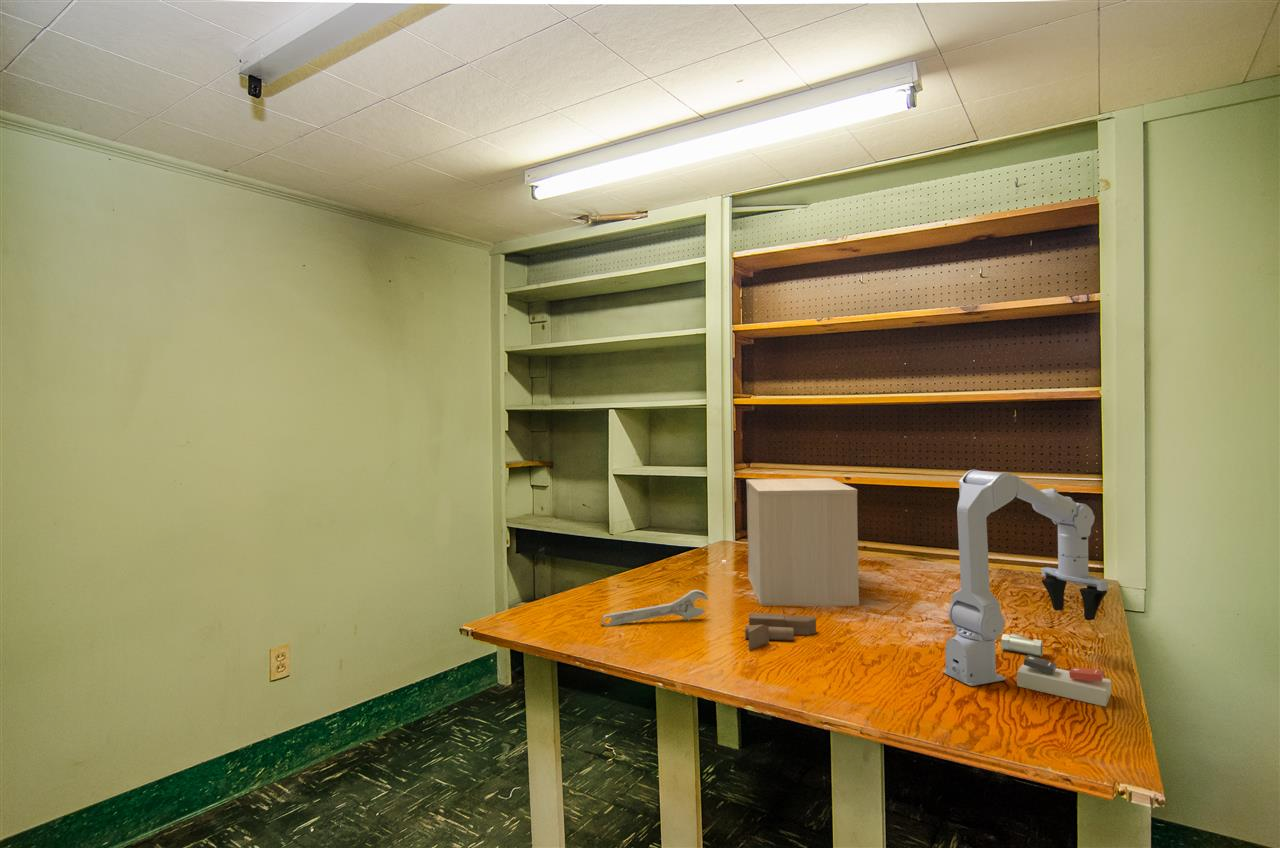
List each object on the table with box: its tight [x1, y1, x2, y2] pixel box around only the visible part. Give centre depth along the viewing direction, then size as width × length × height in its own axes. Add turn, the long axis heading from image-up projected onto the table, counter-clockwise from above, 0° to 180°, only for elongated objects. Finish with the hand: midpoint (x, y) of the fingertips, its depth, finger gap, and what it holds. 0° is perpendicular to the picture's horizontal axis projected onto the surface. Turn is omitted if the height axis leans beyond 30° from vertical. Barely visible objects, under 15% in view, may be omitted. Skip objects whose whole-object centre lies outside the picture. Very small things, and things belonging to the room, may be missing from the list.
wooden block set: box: [744, 612, 817, 651], centre depth 164 cm, size 17×6×18 cm
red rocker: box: [1069, 666, 1105, 681], centre depth 129 cm, size 5×3×1 cm, turn 48°
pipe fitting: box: [1000, 632, 1044, 658], centre depth 154 cm, size 8×4×7 cm
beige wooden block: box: [745, 477, 860, 607], centre depth 210 cm, size 35×29×34 cm
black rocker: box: [1023, 654, 1058, 675], centre depth 134 cm, size 5×3×1 cm, turn 48°
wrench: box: [601, 589, 709, 627], centre depth 181 cm, size 8×2×30 cm
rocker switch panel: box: [1016, 662, 1112, 707], centre depth 132 cm, size 15×7×3 cm, turn 48°
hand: (1073, 614), depth 148 cm, fingers open, 7 cm apart
